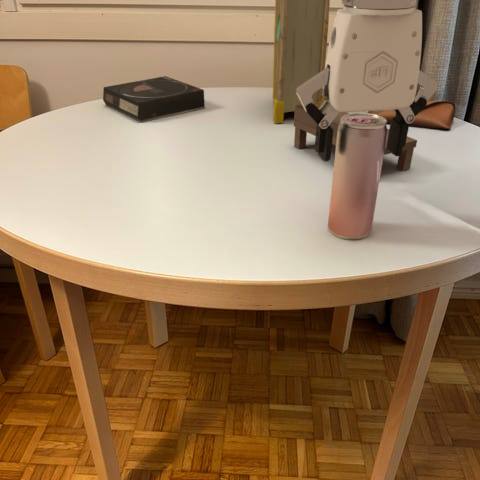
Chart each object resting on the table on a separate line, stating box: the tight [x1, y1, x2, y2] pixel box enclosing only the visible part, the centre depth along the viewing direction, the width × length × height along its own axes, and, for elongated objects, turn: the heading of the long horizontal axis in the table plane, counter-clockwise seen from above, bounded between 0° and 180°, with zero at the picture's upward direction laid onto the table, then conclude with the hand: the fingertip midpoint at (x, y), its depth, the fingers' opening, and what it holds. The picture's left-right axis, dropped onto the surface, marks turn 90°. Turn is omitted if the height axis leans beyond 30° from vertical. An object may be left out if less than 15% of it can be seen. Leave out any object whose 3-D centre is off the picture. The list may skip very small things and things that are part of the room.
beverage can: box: [327, 112, 388, 240], centre depth 69 cm, size 6×6×15 cm
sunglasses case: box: [367, 99, 456, 130], centre depth 111 cm, size 18×7×7 cm
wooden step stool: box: [293, 105, 418, 171], centre depth 93 cm, size 11×20×7 cm, turn 30°
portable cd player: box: [102, 75, 206, 123], centre depth 120 cm, size 16×17×4 cm
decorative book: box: [272, 0, 331, 124], centre depth 109 cm, size 20×11×30 cm, turn 178°
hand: (358, 154), depth 67 cm, fingers open, 8 cm apart
